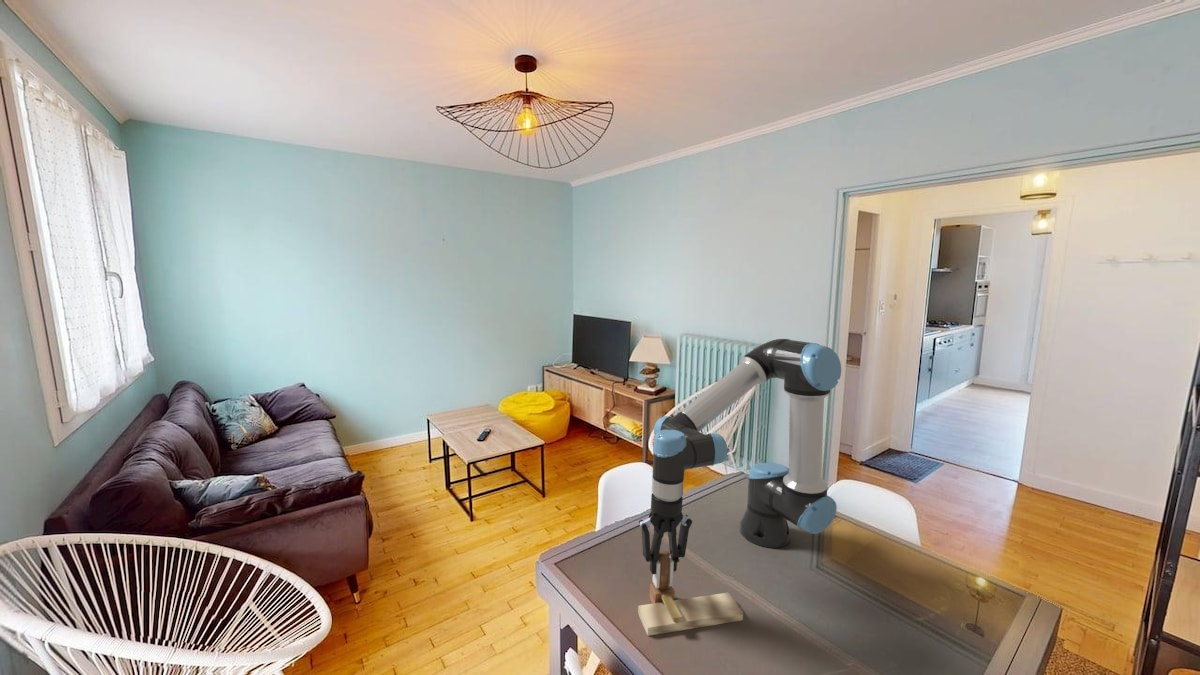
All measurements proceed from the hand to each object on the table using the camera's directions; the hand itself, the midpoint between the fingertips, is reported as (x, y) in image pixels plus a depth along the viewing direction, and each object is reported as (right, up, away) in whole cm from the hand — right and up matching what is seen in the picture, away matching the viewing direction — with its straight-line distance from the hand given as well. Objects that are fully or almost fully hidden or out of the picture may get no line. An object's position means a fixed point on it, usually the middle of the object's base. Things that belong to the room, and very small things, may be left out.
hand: (662, 583), depth 110 cm
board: (+6, -6, -4) cm, 9 cm away
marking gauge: (+1, -6, -3) cm, 6 cm away
